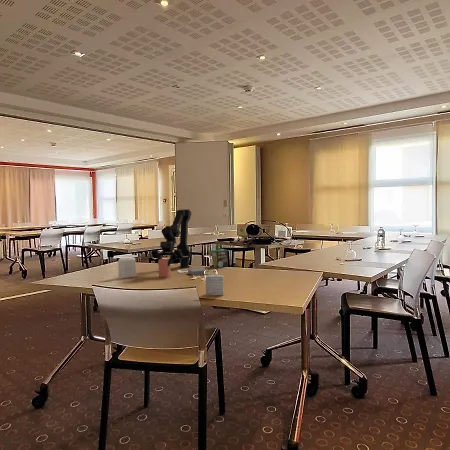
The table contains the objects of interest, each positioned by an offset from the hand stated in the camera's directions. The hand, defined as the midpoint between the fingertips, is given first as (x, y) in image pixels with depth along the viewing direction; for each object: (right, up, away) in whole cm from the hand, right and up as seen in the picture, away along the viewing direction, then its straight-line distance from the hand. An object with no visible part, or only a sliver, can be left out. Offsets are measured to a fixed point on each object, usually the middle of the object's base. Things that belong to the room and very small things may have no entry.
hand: (163, 265), depth 225 cm
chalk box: (+32, -5, +33) cm, 46 cm away
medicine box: (+31, -9, -49) cm, 59 cm away
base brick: (+20, -6, +8) cm, 22 cm away
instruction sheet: (+13, -6, +19) cm, 24 cm away
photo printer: (-21, -8, +1) cm, 23 cm away
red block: (0, -7, +2) cm, 7 cm away
